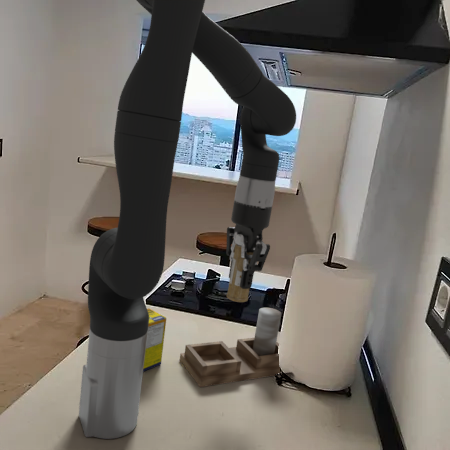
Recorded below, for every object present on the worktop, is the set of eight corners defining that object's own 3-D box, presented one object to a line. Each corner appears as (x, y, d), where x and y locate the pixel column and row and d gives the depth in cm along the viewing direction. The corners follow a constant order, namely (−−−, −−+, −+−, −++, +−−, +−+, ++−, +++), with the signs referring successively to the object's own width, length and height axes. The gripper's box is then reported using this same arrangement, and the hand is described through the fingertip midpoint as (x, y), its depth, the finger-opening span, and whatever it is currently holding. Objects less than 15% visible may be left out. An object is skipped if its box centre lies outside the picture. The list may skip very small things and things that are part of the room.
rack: (200, 387, 92) (208, 329, 90) (179, 359, 102) (186, 306, 99) (292, 372, 103) (302, 321, 101) (266, 348, 113) (275, 301, 110)
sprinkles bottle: (241, 304, 91) (252, 239, 88) (221, 297, 93) (232, 233, 90) (251, 299, 95) (263, 236, 92) (233, 292, 97) (243, 231, 94)
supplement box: (143, 353, 102) (148, 307, 100) (161, 364, 98) (167, 317, 96) (121, 361, 98) (126, 313, 95) (140, 373, 94) (145, 324, 92)
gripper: (220, 192, 94) (208, 271, 98) (255, 207, 82) (239, 297, 85) (252, 195, 98) (239, 271, 101) (289, 210, 86) (273, 296, 89)
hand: (239, 283), depth 93 cm, fingers closed on sprinkles bottle, 4 cm apart
